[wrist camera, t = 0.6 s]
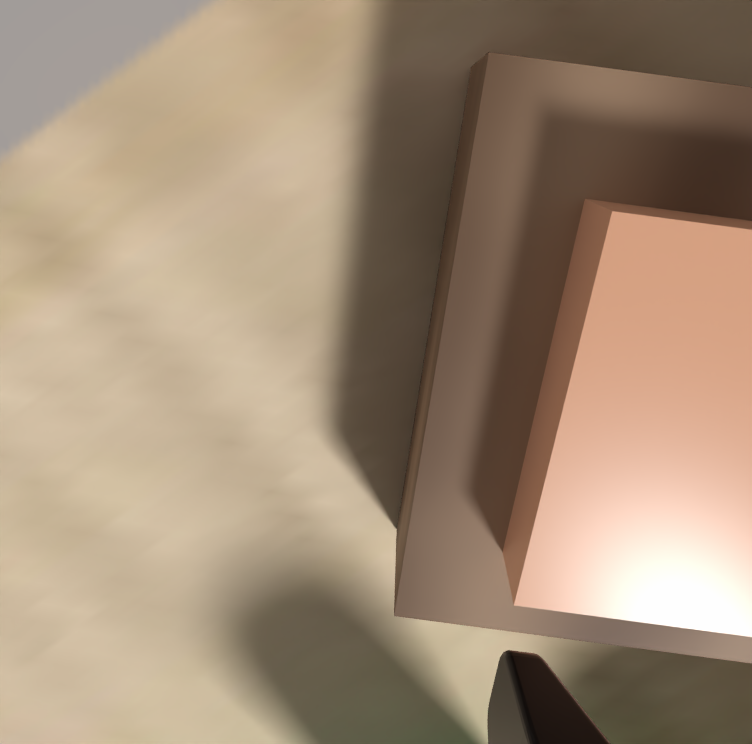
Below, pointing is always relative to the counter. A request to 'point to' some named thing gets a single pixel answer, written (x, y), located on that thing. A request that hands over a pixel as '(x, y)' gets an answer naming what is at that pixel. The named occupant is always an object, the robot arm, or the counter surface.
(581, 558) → the salmon pink brick
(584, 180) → the wooden block
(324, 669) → the counter surface
